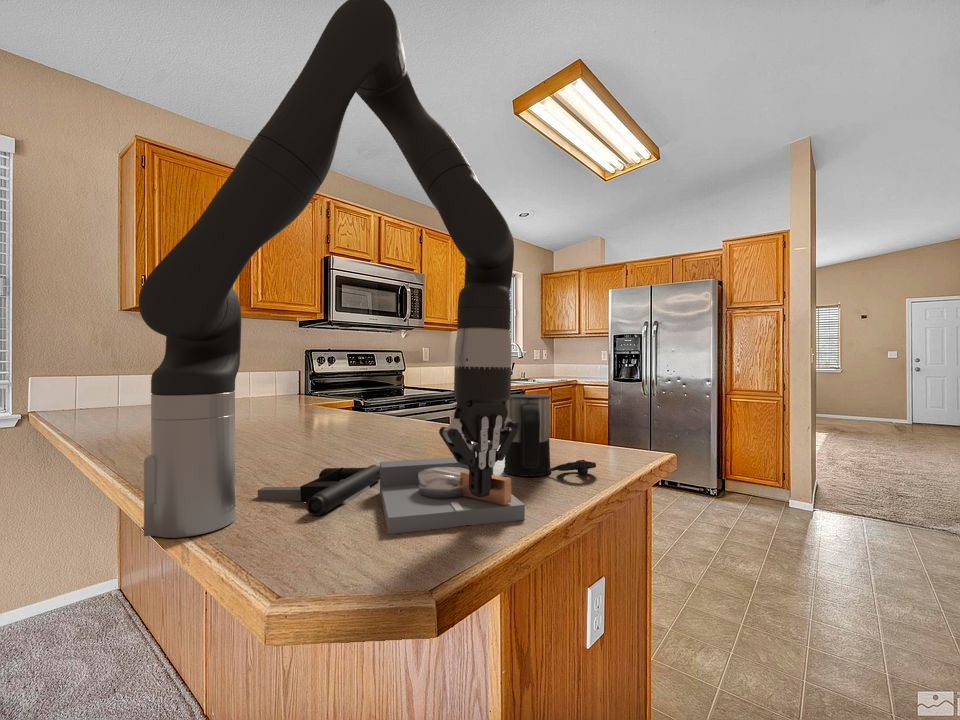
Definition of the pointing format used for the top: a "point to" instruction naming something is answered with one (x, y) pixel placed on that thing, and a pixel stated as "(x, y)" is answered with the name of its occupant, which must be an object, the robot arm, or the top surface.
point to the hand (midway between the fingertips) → (480, 495)
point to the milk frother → (534, 438)
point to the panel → (434, 501)
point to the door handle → (327, 488)
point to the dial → (460, 484)
